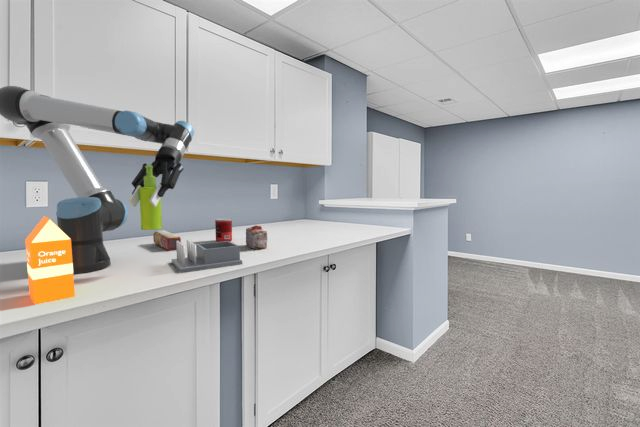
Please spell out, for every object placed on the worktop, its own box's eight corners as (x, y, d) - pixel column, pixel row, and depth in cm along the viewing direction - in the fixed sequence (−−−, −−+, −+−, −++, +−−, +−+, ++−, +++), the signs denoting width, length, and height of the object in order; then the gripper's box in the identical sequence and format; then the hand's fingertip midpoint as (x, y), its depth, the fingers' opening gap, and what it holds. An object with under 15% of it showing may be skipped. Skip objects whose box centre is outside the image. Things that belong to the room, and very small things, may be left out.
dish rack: (180, 272, 101) (179, 247, 100) (171, 262, 114) (170, 240, 113) (242, 264, 112) (241, 241, 111) (227, 255, 125) (227, 235, 125)
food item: (269, 249, 139) (269, 226, 138) (252, 250, 135) (251, 227, 134) (259, 243, 151) (259, 223, 150) (243, 245, 147) (242, 224, 146)
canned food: (234, 239, 161) (234, 218, 160) (228, 242, 153) (227, 220, 152) (219, 239, 162) (219, 218, 161) (213, 242, 154) (212, 219, 153)
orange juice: (34, 305, 74) (27, 219, 72) (29, 296, 79) (22, 217, 78) (75, 296, 79) (70, 217, 78) (68, 288, 85) (62, 214, 83)
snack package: (182, 250, 137) (182, 234, 136) (166, 252, 133) (165, 236, 132) (168, 243, 153) (167, 229, 152) (153, 244, 149) (152, 230, 148)
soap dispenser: (140, 231, 97) (137, 164, 95) (141, 227, 103) (138, 165, 101) (162, 229, 99) (159, 165, 97) (161, 226, 106) (159, 166, 104)
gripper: (200, 161, 113) (177, 211, 99) (150, 162, 115) (120, 211, 101) (191, 145, 107) (166, 195, 93) (139, 146, 110) (106, 195, 95)
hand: (142, 203), depth 97 cm, fingers closed on soap dispenser, 6 cm apart
